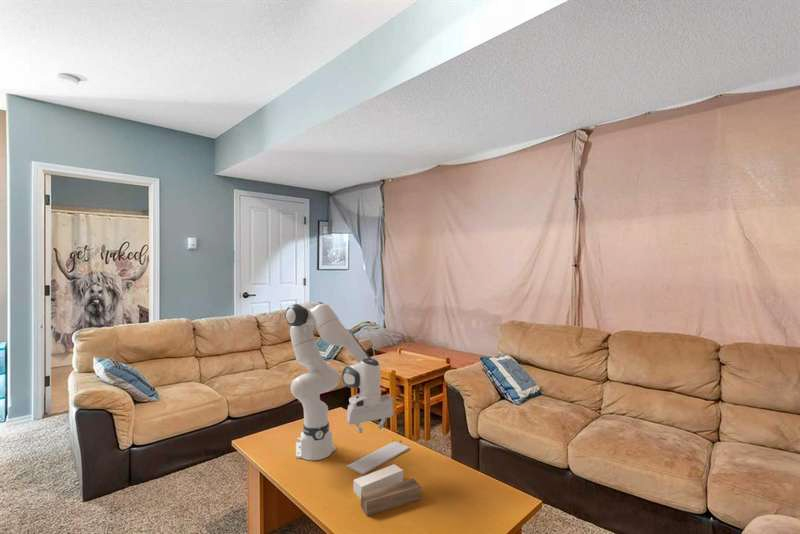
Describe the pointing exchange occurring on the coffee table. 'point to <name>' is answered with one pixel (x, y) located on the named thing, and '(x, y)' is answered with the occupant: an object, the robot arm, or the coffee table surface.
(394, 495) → the brown wooden block
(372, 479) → the cream floor plank
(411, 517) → the coffee table surface
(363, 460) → the baseboard molding
